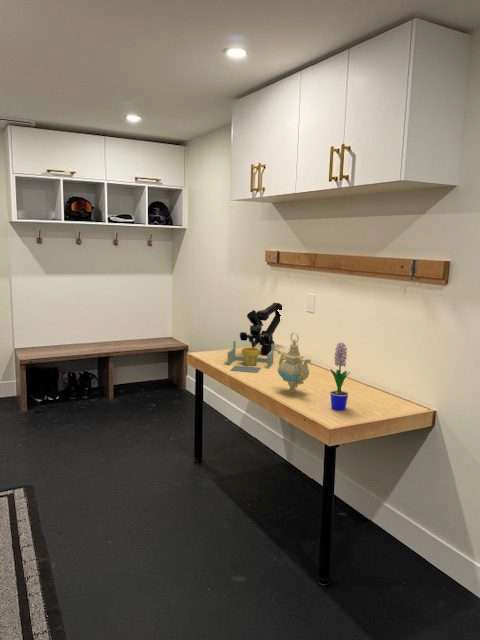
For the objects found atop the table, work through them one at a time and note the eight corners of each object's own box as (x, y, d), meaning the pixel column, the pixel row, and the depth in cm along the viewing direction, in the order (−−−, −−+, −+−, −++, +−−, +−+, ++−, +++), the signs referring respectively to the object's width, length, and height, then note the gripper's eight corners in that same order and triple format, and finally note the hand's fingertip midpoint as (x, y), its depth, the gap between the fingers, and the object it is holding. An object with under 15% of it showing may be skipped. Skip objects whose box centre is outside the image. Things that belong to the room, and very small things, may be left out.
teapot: (317, 396, 239) (320, 335, 235) (298, 400, 233) (300, 337, 229) (287, 384, 259) (289, 328, 255) (269, 387, 253) (270, 329, 249)
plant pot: (238, 363, 304) (239, 347, 302) (253, 362, 308) (254, 346, 307) (246, 367, 294) (246, 351, 293) (261, 365, 299) (262, 350, 297)
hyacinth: (328, 411, 218) (331, 344, 214) (328, 404, 228) (331, 340, 224) (348, 413, 216) (352, 345, 212) (347, 405, 226) (351, 341, 222)
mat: (234, 366, 297) (234, 365, 297) (261, 368, 293) (261, 367, 293) (230, 370, 285) (230, 370, 285) (257, 373, 282) (257, 372, 282)
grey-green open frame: (233, 359, 313) (233, 341, 311) (273, 362, 307) (273, 343, 305) (227, 365, 298) (227, 345, 296) (269, 368, 293) (269, 348, 291)
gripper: (240, 319, 312) (236, 339, 303) (269, 321, 308) (266, 341, 299) (243, 329, 321) (238, 349, 312) (271, 331, 316) (268, 352, 307)
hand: (252, 348), depth 307 cm, fingers closed
